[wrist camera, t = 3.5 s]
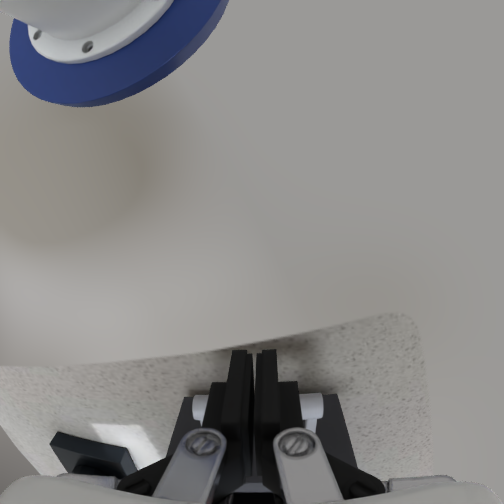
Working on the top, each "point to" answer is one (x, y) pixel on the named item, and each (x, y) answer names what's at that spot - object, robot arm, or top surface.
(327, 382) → the top surface
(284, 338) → the top surface
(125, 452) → the control block
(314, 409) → the basket drawer
